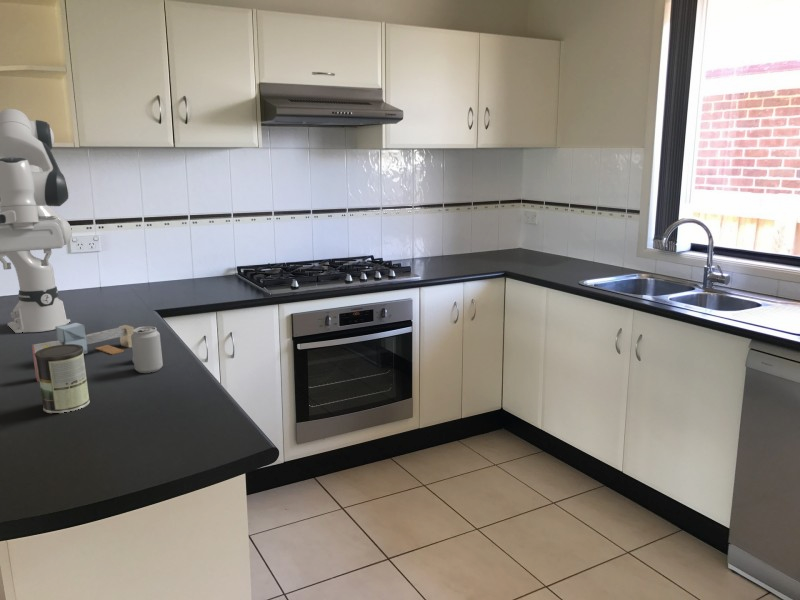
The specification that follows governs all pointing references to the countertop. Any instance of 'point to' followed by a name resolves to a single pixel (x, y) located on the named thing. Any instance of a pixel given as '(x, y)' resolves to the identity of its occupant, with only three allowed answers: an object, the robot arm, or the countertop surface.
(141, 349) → the can
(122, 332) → the rail
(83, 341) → the light blue block
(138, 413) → the countertop surface
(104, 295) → the countertop surface
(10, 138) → the robot arm
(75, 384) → the coffee can
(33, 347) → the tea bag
